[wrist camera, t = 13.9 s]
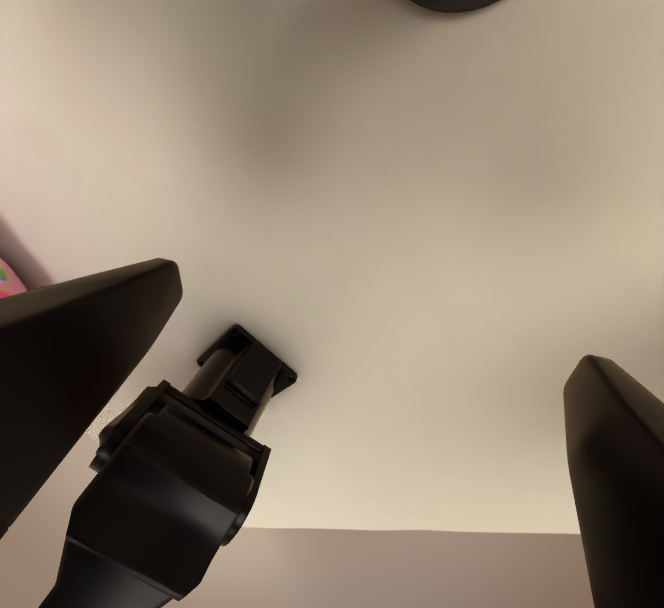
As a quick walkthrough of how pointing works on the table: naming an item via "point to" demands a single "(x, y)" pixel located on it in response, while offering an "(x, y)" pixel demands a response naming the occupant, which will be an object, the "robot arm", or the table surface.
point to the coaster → (453, 4)
